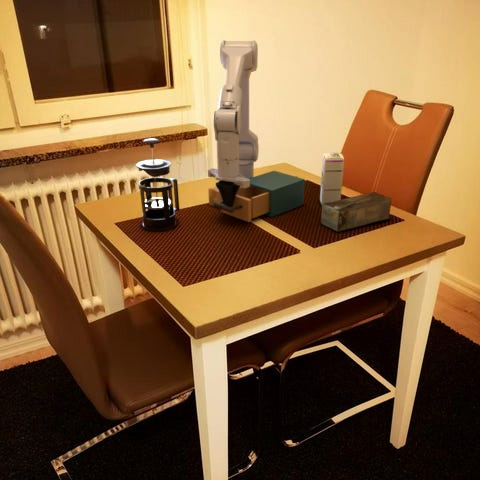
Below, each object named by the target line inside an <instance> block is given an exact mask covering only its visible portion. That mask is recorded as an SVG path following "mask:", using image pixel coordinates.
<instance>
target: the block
mask: <svg viewBox="0 0 480 480" xmlns="http://www.w3.org/2000/svg"><path fill="white" fill-rule="evenodd" d="M214 202H221V194H220V192H219V190H218V188H217V187H216V185H214V186H211V187H208V205H209V206H211V207H214V205H213V204H214ZM215 208H216V209H218V208H217V207H215Z"/></svg>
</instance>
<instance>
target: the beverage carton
mask: <svg viewBox="0 0 480 480" xmlns="http://www.w3.org/2000/svg"><path fill="white" fill-rule="evenodd" d="M391 207H392V198H391V197H388V196H386V195H384V194H382V193H381V194H380V193H378V192H375V191H372V192H367V193H363V194H359V195H356V196H350V197H346V198H343V199H342V198H341V200H337V201H333V202H328V203H323V204H322V205H321V216H320V219H321V220H320V222H321V224H322V225H323V226H325V227H327V228H329V229H331V230H333V231H335V232H337V233H339V232H342V231H346V230H350V229H354V228H358V227H362V226H366V225H371V224H373V223H376V222H380V221H385V220H389V219H390V216H391V215H390V214H391Z"/></svg>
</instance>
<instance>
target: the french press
mask: <svg viewBox="0 0 480 480" xmlns="http://www.w3.org/2000/svg"><path fill="white" fill-rule="evenodd" d="M160 141H161V140H160V139H158V138H146V139H144V140H143V141H142V142H143V143H144V144H149V147H150V149H151V159H145V160H141V161H139V162H137V163H136V168H137V169H138V171H139V172H142V171H143V172H145V173H146V174H147V175H148V176H150V177H147V178H144V179H142V180H140V181H138V189H139V193H140V194H139V195H140V202H141V210H142V213H141V216H142V217H141V218H142V227H143V229H145V230H146V231H150V232H164V231H165V232H166V231H169V230H172V229H174V228H175V227H176V226H177V221H176V212H179V211H180V199H179V198H180V197H179V185H178V183H179V182H178V179H176V178H174V177H172V178H169V177H162V176H166V175H169V174H170V172H171V169H170V167H171V166H172V162H171V161H169V160H167V159H157V158H156V159H155V155H154V148H155V144H157V143H160ZM152 183H154V187H152V185H151V184H152ZM157 183H164V184H167V185H164V186H157ZM159 193H161V197H160V196H159V195H158V194H159ZM153 194H155V197H153ZM173 195H174V196H173ZM158 196H159V197H158ZM173 197H174V198H173Z"/></svg>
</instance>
